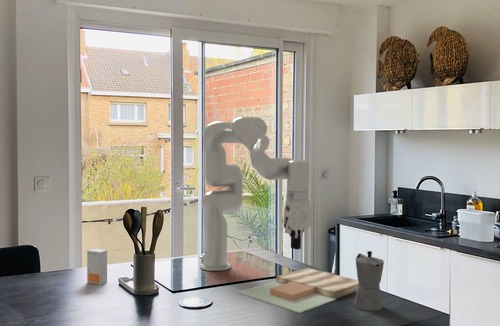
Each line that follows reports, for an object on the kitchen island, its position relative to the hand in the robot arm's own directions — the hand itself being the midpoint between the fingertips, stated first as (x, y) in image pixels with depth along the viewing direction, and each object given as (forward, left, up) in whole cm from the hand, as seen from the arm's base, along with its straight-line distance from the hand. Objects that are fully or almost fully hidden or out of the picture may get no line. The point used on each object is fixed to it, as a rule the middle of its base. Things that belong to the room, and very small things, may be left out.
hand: (295, 248), depth 181 cm
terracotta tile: (+1, -3, -15) cm, 15 cm away
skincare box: (-57, -44, -16) cm, 74 cm away
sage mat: (+1, -6, -16) cm, 16 cm away
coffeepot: (+25, +7, -16) cm, 30 cm away
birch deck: (+1, +13, -16) cm, 20 cm away
